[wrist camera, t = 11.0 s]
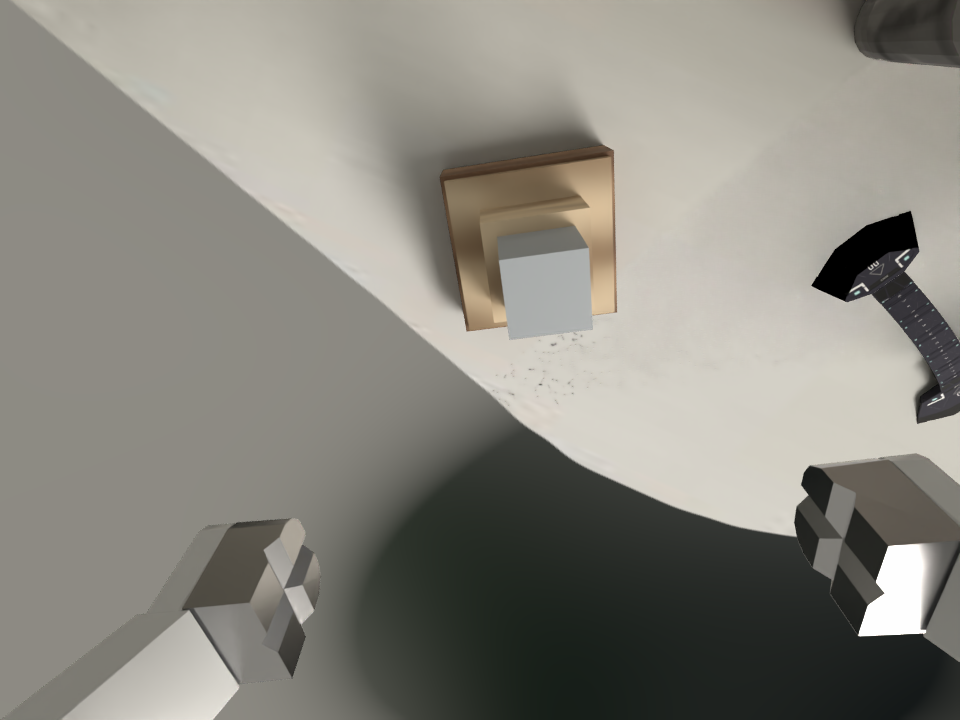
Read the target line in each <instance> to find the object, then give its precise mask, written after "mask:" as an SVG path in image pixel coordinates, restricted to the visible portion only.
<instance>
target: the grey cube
mask: <svg viewBox="0 0 960 720" xmlns="http://www.w3.org/2000/svg"><path fill="white" fill-rule="evenodd" d="M497 242H498V255H499V265H500V273H501V280H502V288H503V295H504V303H505V311H506V318H507V326H508V333H509V340H513V339H521V338H529V337H537V336H545V335H553V334H561V333H569V332H577V331H585V330H592V329H593V326H592V304H591V282H590V260H589V247H588V246H587V244H586V242H585V241H584V239H583V238H582V236H581V234H580V233H579V231H578V230H577V228H576V226H569V227H562V228H555V229H548V230H541V231H534V232H527V233H520V234H513V235H506V236H499V237H497Z"/></svg>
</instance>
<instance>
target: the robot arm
mask: <svg viewBox="0 0 960 720" xmlns="http://www.w3.org/2000/svg"><path fill="white" fill-rule="evenodd" d="M801 486H802V487H803V488H804V490H805V491H806V492H807V494H808V496H807V497H806V498H805V499H804V500H803V501H802V502H801V503H800V504H799V505H798V506H797V507H796V514H795V521H794V524H795V529H796V535H797V540H798V542H799V544H800V547H801V549H802V551H803V554H804V555H805V557H806V558H807V560H808V561H809V563H810V564H811V566H812V568H814V569H815V570H817V571H819V572H820V573H822V574H824V575H825V576H827V577H828V578H830V579H832V583H831V590H830V595H831V596H832V598H833V599H834V600H835V602H836V603H837V605H838V606H839V608H840V609H841V611H842V612H843V614H844V615H845V617H846V618H847V620H848V621H849V623H850V624H851V626H852V627H853V628H854V630H855V632H856V633H857V634H858V636H866V635H886V634H908V633H924V637H925V638H927V639H928V640H930V641H931V642H932V643H934V644H935V645H937V646H938V647H939V648H941V649H942V650H944V651H945V652H946V653H948V654H949V655H950V656H952V657H954V658H955V659H956V660H957V661H959V662H960V485H959V484H958V483H957V482H955V481H954V480H953V479H952V478H951V477H950V476H948V475H947V474H946V473H945V472H944V471H943V470H941V469H940V468H939V467H938V466H937V465H935V464H934V463H933V462H932V461H931V460H930V459H928V458H926V457H924V456H921V455H919V454H907V455H898V456H889V457H880V458H878V459H875V458H873V459H864V460H855V461H846V462H837V463H828V464H819V465H810V466H809V467H808V468H807V469H806V471H805V472H804V474H803V479H802V483H801ZM305 535H306V533H305V531H304V529H303V527H302V525H301V523H300V521H299V520H297V519H292V518H289V519H277V520H263V521H250V522H237V523H232V524H218V525H208V526H206V527H205V528H203V529H202V530H200V531H199V532H198V534H197V535H196V537H195V538H194V540H193V542H192V543H191V545H190V546H189V547H188V549H187V551H186V552H185V554H184V556H183V557H182V558H181V560H180V562H179V563H178V565H177V566H176V568H175V569H174V571H173V572H172V574H171V576H170V577H169V579H168V580H167V582H166V583H165V585H164V586H163V588H162V590H161V591H160V593H159V594H158V596H157V597H156V599H155V600H154V602H153V604H152V605H151V607H150V608H149V610H148V611H147V613H146V614H139V615H135V616H134V617H133V618H132V619H130V620H129V621H128V622H126V623H125V624H124V625H123V626H121V627H120V628H119V629H117V630H116V631H115V632H113V633H112V634H111V635H110V636H108V637H107V638H106V639H104V640H103V641H102V642H101V643H99V644H98V645H97V646H95V647H94V648H93V649H91V650H90V651H89V652H88V653H86V654H85V655H84V656H82V657H81V658H80V659H79V660H77V661H76V662H75V663H73V664H72V665H71V666H69V667H68V668H67V669H66V670H64V671H63V672H62V673H60V674H59V675H58V676H56V677H55V678H54V679H53V680H51V681H50V682H49V683H48V684H46V685H45V686H43V687H42V688H41V689H40V690H39V691H37V692H36V693H34V694H33V695H32V696H31V697H29V698H28V699H27V700H25V701H24V702H23V703H21V704H20V705H19V706H18V707H16V708H15V709H14V710H12V711H11V712H10V713H9V714H7V715H6V716H5V717H3V718H2V719H1V720H213V719H214V718H215V716H216V715H217V714H218V713H219V712H220V710H221V709H222V708H223V707H224V706H225V704H226V703H227V702H228V701H229V699H230V698H231V697H232V696H233V695H234V694H235V692H236V691H237V690H238V689H239V685H238V684H245V683H255V682H264V681H273V680H283V679H292V677H293V675H294V671H295V669H296V665H297V662H298V659H299V656H300V653H301V650H302V647H303V644H304V641H305V638H306V636H305V633H304V631H303V628H302V626H301V624H302V623H303V622H304V621H305V620H306V619H307V618H308V617H309V616H310V615H311V614H312V613H313V611H314V610H315V607H316V603H317V600H318V596H319V590H320V578H321V576H320V569H319V564H318V561H317V558H316V556H315V553H314V552H313V551H311V550H309V549H308V548H307V547H305V546H304V545H302V543H303V541H304V538H305Z"/></svg>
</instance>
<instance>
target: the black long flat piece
mask: <svg viewBox="0 0 960 720" xmlns="http://www.w3.org/2000/svg"><path fill="white" fill-rule="evenodd" d="M918 253H919V247H918V242H917V237H916V232H915V227H914V222H913V218H912V214H911V211H909V212H906V213H902V214H899V215H898V216H894V217H890V218H887V219H884V220H881V221H878V222H875V223H872V224H869V225H866V226H865V227H864V228H862V229H861V230H860V231H858V232H857V233H856V234H855V235H853V236H852V237H851V238H849V239H848V240H847V241H845V242H844V243H843V244H841V245H840V246H839V247H838V248H836V249H835V250H834V252H833V253H832V255H831V256H830V258H829V259H828V261H827V262H826V264H825V265H824V267H823V268H822V270H821V272H820V273H819V275H818V277H816V279H815V281H814V282H813V284H812V285H811V286H812V287H814V288H816V289H818V290H821V291H823V292H825V293H827V294H830V295H832V296H834V297H836V298H839V299H841V300H843V301H845V302H849V301H852V300H855V299H858V298H861V297H864V296H867V295H870V294H872V293H873V294H872V295H873V296H874V297H875V299H876V300H877V301H878V302H879V303H880V304H882V306H883V307H884V308H885V309H886V310H887V311H888V313H889V314H890V315H891V316H892V317H893V318H894V320H895V321H896V322H897V323H898V324H899V325H900V327H901V328H902V329H903V330H904V332H905V333H906V334H907V335H908V337H909V338H910V339H911V340H912V342H913V343H914V344H915V346H916V347H917V348H918V350H919V351H920V353H921V354H922V356H923V357H924V358H925V360H926V361H927V363H928V365H929V366H930V368H931V370H932V371H933V372H934V375H935V377H936V379H937V381H938V383H939V384H938V385H936V386H935V387H933V388H932V389H930V390H929V391H928V392H926V393H925V394H923V395H922V396H921V397H920V401H921V404H920V408H919V412H918V415H917V424H918V423H923V422H927V421H930V420H935V419H939V418H943V417H947V416H951V415H954V414H956V413H958V412H960V342H959V340H958V339H957V337H956V336H955V334H954V333H953V331H952V330H951V328H950V327H949V325H948V324H947V322H946V321H945V320H944V318H943V317H942V316H941V314H940V313H939V312H938V310H937V309H936V308H935V307H934V305H933V304H932V303H931V302H930V300H929V299H928V298H927V297H926V296H925V295H924V293H923V292H922V291H921V290H920V289H919V288H918V286H917V285H916V284H915V283H914V281H913V280H912V279H911V278H910V277H909V276H908V275H907V274H906V273H905V272H904V271H905V270H906V268H907V267H908V266H909V264H910V263H911V262H912V261H913V259H914V258H915V257H916V255H917V254H918ZM901 273H902V274H901ZM898 275H899V276H898ZM888 282H889V283H888ZM885 284H886V285H885ZM906 287H907V288H906ZM878 289H879V290H878ZM875 291H876V292H875Z"/></svg>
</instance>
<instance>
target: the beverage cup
mask: <svg viewBox="0 0 960 720" xmlns="http://www.w3.org/2000/svg"><path fill="white" fill-rule="evenodd" d="M854 33H855V42H856V44H857V46H858V48H859V50H860V52H862V53H863V54H864V55H865V56H867V57H869V58H873V59H882V60H886V61H890V62H899V63H910V64H921V65H933V66H944V67H956V68H960V0H867V1H866V2H865V3H864V4H863V6H862V8H861V10H860V12H859V15H858V17H857V20H856V25H855V30H854Z"/></svg>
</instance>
